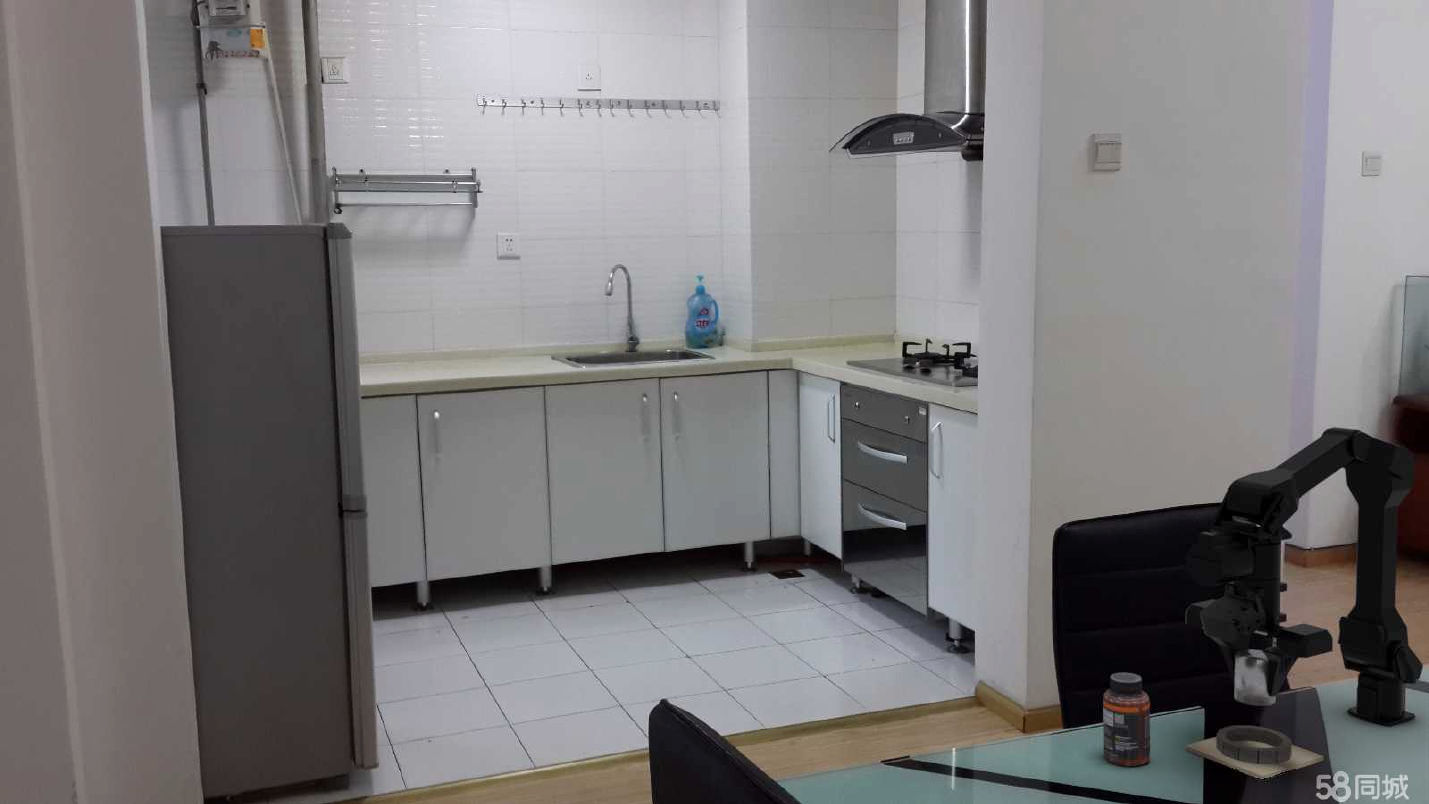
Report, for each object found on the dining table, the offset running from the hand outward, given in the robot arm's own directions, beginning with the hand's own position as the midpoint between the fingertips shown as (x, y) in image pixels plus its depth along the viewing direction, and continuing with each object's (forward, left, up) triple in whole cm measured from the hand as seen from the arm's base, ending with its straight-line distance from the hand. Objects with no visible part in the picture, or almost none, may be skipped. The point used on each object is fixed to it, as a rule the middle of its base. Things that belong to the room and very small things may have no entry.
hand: (1255, 690), depth 165 cm
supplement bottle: (+15, -8, -9) cm, 19 cm away
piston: (0, 0, -1) cm, 1 cm away
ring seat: (0, 0, -9) cm, 9 cm away
